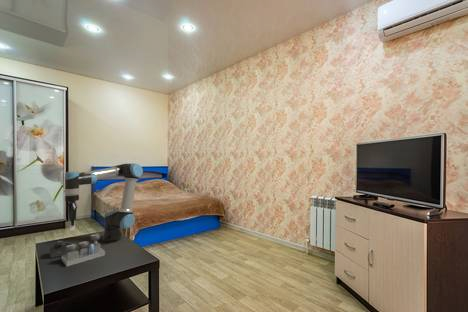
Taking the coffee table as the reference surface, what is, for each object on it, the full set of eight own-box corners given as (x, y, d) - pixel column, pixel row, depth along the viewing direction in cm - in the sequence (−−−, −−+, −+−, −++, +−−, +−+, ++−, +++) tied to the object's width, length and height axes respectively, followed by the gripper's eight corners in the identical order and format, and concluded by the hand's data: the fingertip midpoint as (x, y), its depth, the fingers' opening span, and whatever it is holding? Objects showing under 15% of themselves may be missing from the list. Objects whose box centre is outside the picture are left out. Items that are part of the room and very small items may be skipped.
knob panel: (98, 249, 165) (98, 240, 165) (105, 255, 155) (105, 245, 155) (61, 260, 148) (61, 249, 148) (66, 266, 139) (66, 255, 139)
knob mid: (87, 250, 156) (87, 240, 156) (89, 252, 152) (89, 242, 152) (77, 253, 152) (77, 242, 152) (80, 255, 148) (80, 244, 148)
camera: (69, 250, 165) (69, 236, 165) (75, 253, 160) (75, 239, 160) (46, 256, 154) (46, 242, 154) (52, 260, 148) (52, 245, 149)
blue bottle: (93, 252, 153) (93, 243, 153) (94, 253, 152) (94, 244, 151) (89, 253, 151) (89, 244, 151) (90, 254, 150) (90, 245, 149)
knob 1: (75, 253, 151) (75, 242, 151) (77, 255, 147) (77, 245, 147) (65, 256, 146) (65, 245, 147) (67, 258, 143) (67, 247, 143)
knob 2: (98, 242, 161) (98, 232, 161) (101, 244, 157) (101, 234, 158) (89, 245, 157) (89, 234, 157) (92, 247, 153) (92, 236, 153)
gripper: (63, 194, 149) (63, 229, 149) (67, 196, 140) (67, 233, 140) (76, 193, 155) (76, 227, 154) (81, 195, 146) (81, 230, 146)
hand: (72, 230), depth 147 cm, fingers closed
